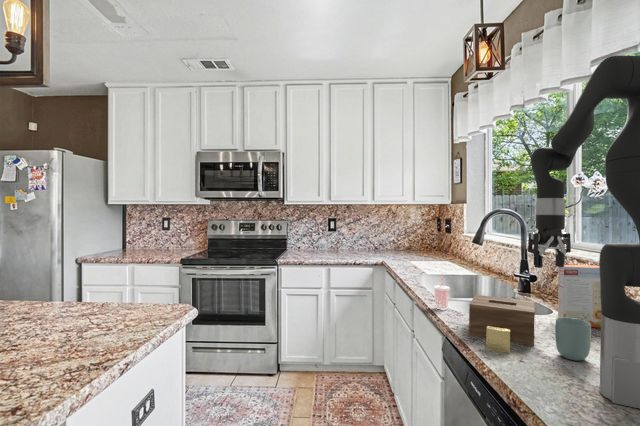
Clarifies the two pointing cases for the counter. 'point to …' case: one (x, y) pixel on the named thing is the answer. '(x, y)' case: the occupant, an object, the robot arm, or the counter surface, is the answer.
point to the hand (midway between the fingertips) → (549, 267)
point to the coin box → (502, 317)
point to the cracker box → (580, 293)
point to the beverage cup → (441, 295)
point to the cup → (573, 338)
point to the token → (498, 339)
